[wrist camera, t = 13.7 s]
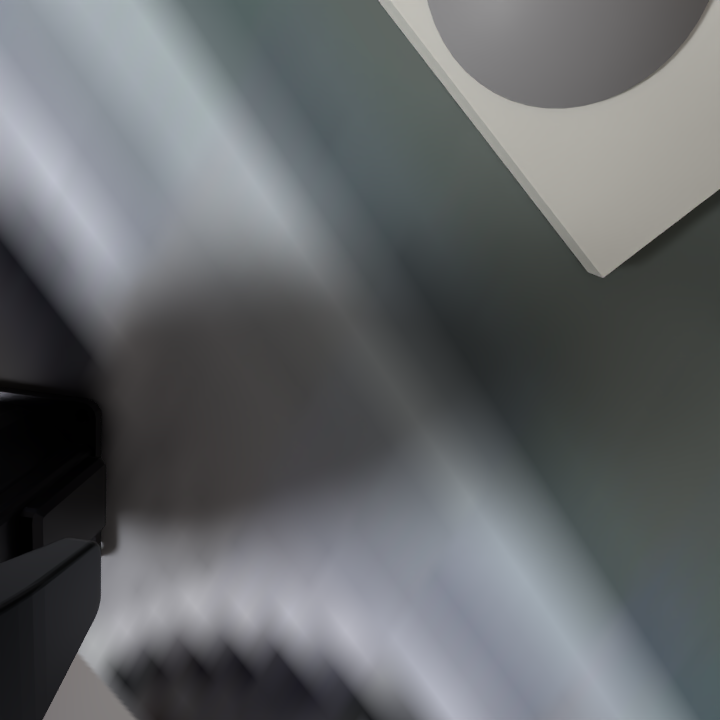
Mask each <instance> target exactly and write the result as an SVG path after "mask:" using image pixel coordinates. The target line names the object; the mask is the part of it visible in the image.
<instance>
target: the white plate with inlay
mask: <svg viewBox="0 0 720 720" xmlns="http://www.w3.org/2000/svg"><path fill="white" fill-rule="evenodd" d="M378 1H379V2H380V3H381V5H382V6H383V7H384V9H385V10H386V11H387V13H388V14H389V15H390V16H391V18H392V19H393V20H394V22H395V23H396V24H397V25H398V27H399V28H400V29H401V31H402V32H403V33H404V35H405V36H406V37H407V38H408V40H409V41H410V42H411V44H412V45H413V46H414V48H415V49H416V50H417V51H418V53H419V54H420V55H421V57H422V58H423V59H424V60H425V62H426V63H427V64H428V66H429V67H430V68H431V70H432V71H433V72H434V73H435V75H436V76H437V77H438V79H439V80H440V81H441V82H442V84H443V85H444V86H445V88H446V89H447V90H448V92H449V93H450V94H451V95H452V97H453V98H454V99H455V101H456V102H457V103H458V105H459V106H460V107H461V108H462V110H463V111H464V112H465V114H466V115H467V116H468V117H469V119H470V120H471V121H472V123H473V124H474V125H475V127H476V128H477V129H478V130H479V132H480V133H481V134H482V136H483V137H484V138H485V140H486V141H487V142H488V143H489V145H490V146H491V147H492V149H493V150H494V151H495V152H496V154H497V155H498V156H499V158H500V159H501V160H502V162H503V163H504V164H505V165H506V167H507V168H508V169H509V171H510V172H511V173H512V175H513V176H514V177H515V178H516V180H517V181H518V182H519V184H520V185H521V186H522V187H523V189H524V190H525V191H526V193H527V194H528V195H529V197H530V198H531V199H532V200H533V202H534V203H535V204H536V206H537V207H538V208H539V210H540V211H541V212H542V213H543V215H544V216H545V217H546V219H547V220H548V221H549V222H550V224H551V225H552V226H553V228H554V229H555V230H556V232H557V233H558V234H559V235H560V237H561V238H562V239H563V241H564V242H565V243H566V245H567V246H568V247H569V248H570V250H571V251H572V252H573V254H574V255H575V256H576V257H577V259H578V260H579V261H580V263H581V264H582V265H583V267H584V268H585V269H586V270H587V272H588V273H591V274H594V275H597V276H599V277H602V278H604V277H605V276H606V275H608V274H609V273H610V272H611V271H613V270H614V269H615V268H617V267H618V266H619V265H621V264H622V263H623V262H625V261H626V260H627V259H628V258H630V257H631V256H632V255H634V254H635V253H636V252H638V251H639V250H640V249H642V248H643V247H644V246H646V245H647V244H648V243H649V242H651V241H652V240H653V239H655V238H656V237H657V236H659V235H660V234H661V233H663V232H664V231H665V230H666V229H668V228H669V227H670V226H672V225H673V224H674V223H676V222H677V221H678V220H680V219H681V218H682V217H683V216H685V215H686V214H687V213H689V212H690V211H691V210H693V209H694V208H695V207H697V206H698V205H699V204H700V203H702V202H703V201H704V200H706V199H707V198H708V197H710V196H711V195H712V194H714V193H715V192H716V191H718V190H719V189H720V0H378Z"/></svg>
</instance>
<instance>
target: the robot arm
mask: <svg viewBox="0 0 720 720" xmlns="http://www.w3.org/2000/svg"><path fill="white" fill-rule="evenodd" d="M81 409H83V410H85V411H86V412H87V413H88V415H89V419H86V418H84V417H83V416H82V415H81V412H80V411H81ZM105 523H106V464H105V462H104V461H103V459H102V458H101V410H100V408H99V406H98V404H97V403H95V402H94V401H92V400H89V399H84V398H77V397H69V396H62V395H54V394H47V393H39V392H32V391H24V390H17V389H9V388H2V387H0V720H42V719H43V717H44V716H45V714H46V712H47V710H48V708H49V706H50V704H51V702H52V700H53V698H54V696H55V695H56V693H57V691H58V689H59V687H60V685H61V683H62V681H63V679H64V677H65V675H66V673H67V671H68V669H69V667H70V665H71V663H72V661H73V659H74V658H75V656H76V654H77V652H78V650H79V648H80V646H81V644H82V642H83V640H84V638H85V636H86V634H87V632H88V630H89V628H90V626H91V624H92V622H93V621H94V619H95V616H96V614H97V611H98V608H99V605H100V599H101V529H102V528H103V527H104V526H105Z"/></svg>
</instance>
